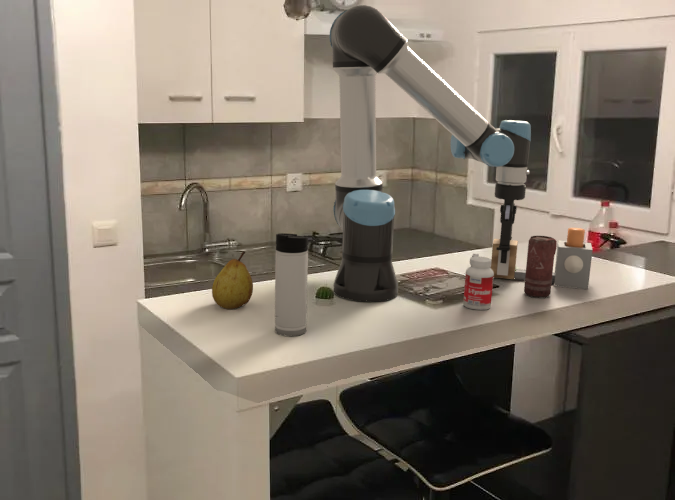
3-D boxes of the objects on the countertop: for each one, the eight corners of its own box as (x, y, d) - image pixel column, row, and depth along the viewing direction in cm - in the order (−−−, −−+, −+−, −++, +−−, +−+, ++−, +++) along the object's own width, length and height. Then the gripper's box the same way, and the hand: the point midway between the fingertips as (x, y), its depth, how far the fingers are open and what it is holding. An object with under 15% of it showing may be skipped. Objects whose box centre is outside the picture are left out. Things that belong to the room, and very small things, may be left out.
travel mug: (267, 332, 144) (267, 233, 139) (287, 323, 149) (289, 227, 144) (292, 339, 140) (294, 238, 136) (312, 330, 146) (314, 232, 141)
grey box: (554, 286, 182) (558, 247, 180) (554, 277, 190) (557, 240, 187) (588, 289, 180) (592, 250, 178) (586, 280, 188) (590, 243, 185)
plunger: (565, 255, 182) (568, 230, 180) (565, 252, 186) (567, 227, 184) (582, 257, 181) (585, 231, 179) (581, 253, 185) (584, 228, 183)
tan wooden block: (490, 277, 187) (492, 243, 185) (491, 271, 193) (494, 238, 191) (513, 279, 186) (517, 245, 184) (514, 273, 191) (517, 240, 189)
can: (552, 299, 171) (558, 241, 168) (524, 297, 172) (529, 239, 169) (550, 292, 177) (556, 235, 173) (523, 290, 178) (528, 234, 175)
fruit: (207, 310, 156) (206, 256, 153) (219, 298, 164) (219, 246, 161) (246, 313, 154) (246, 258, 152) (257, 301, 163) (257, 248, 160)
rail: (470, 274, 190) (471, 256, 189) (471, 272, 193) (473, 253, 192) (554, 283, 185) (556, 264, 184) (554, 280, 188) (556, 261, 186)
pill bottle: (464, 309, 161) (467, 261, 159) (462, 301, 167) (465, 254, 165) (492, 311, 161) (496, 262, 158) (489, 303, 167) (493, 256, 164)
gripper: (525, 189, 174) (516, 282, 179) (526, 179, 192) (519, 264, 197) (493, 187, 176) (485, 279, 181) (497, 177, 193) (490, 261, 199)
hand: (503, 271), depth 189 cm, fingers closed on tan wooden block, 6 cm apart
